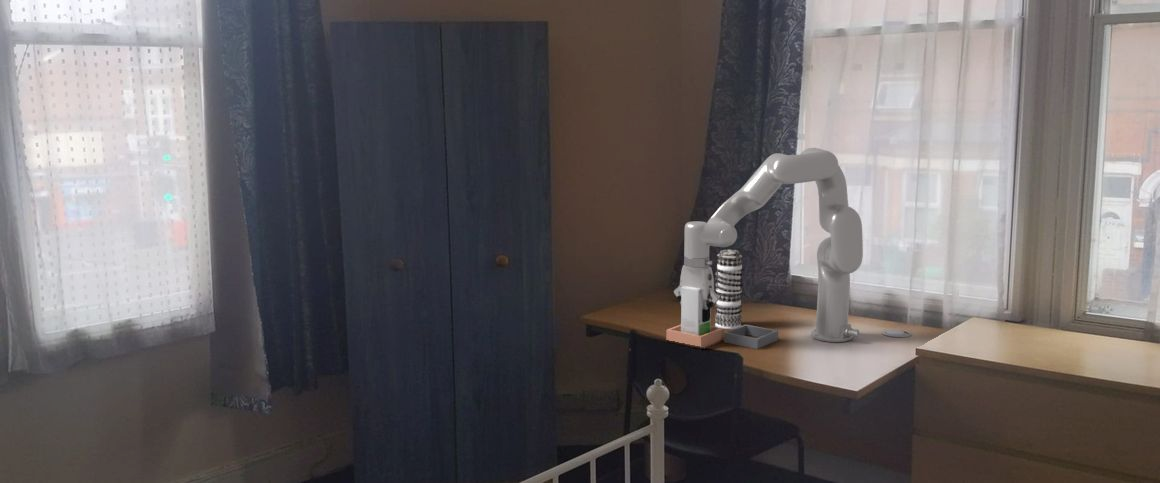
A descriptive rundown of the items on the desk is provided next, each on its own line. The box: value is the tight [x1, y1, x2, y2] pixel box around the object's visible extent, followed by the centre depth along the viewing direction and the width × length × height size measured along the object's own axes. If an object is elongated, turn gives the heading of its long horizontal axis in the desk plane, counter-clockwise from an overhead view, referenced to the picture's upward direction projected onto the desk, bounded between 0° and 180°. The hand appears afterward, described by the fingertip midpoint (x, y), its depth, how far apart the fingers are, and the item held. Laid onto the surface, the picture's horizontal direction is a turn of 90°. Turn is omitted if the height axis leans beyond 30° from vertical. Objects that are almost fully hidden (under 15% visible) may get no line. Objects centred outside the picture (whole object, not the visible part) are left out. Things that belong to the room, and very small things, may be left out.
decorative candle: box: [714, 249, 745, 330], centre depth 300 cm, size 9×9×25 cm
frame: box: [723, 324, 779, 350], centre depth 284 cm, size 12×13×3 cm
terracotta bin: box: [665, 324, 725, 348], centre depth 284 cm, size 13×13×4 cm
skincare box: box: [680, 286, 712, 336], centre depth 283 cm, size 8×7×16 cm
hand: (695, 318), depth 283 cm, fingers closed on skincare box, 6 cm apart
